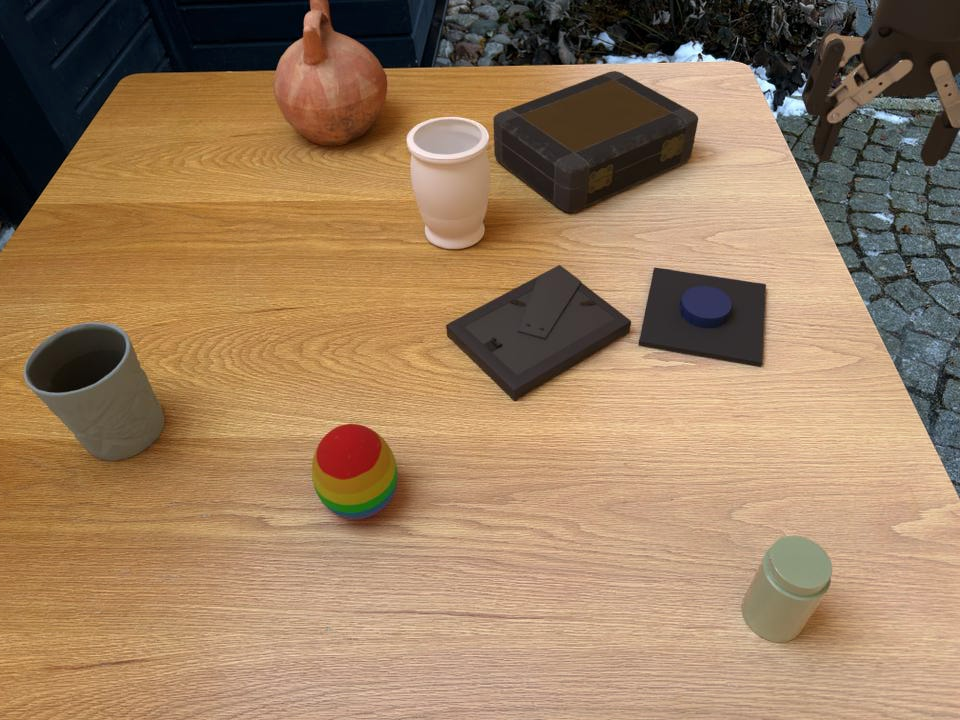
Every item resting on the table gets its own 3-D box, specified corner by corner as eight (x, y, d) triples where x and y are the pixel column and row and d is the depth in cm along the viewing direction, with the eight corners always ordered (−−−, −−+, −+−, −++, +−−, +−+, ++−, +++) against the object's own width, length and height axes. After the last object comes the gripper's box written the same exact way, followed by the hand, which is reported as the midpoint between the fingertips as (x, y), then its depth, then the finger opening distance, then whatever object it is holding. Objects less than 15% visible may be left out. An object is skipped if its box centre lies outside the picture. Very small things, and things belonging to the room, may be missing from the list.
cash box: (609, 109, 127) (613, 65, 122) (695, 160, 115) (704, 114, 110) (487, 157, 118) (486, 111, 113) (567, 218, 106) (570, 171, 101)
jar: (402, 239, 105) (389, 143, 94) (446, 202, 110) (438, 108, 99) (464, 265, 100) (457, 167, 89) (506, 225, 106) (505, 129, 95)
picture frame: (558, 276, 98) (446, 335, 91) (559, 263, 96) (445, 322, 89) (630, 332, 90) (514, 401, 83) (632, 318, 89) (514, 388, 82)
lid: (672, 317, 91) (674, 307, 89) (690, 289, 94) (692, 280, 93) (719, 334, 88) (721, 324, 87) (735, 305, 92) (738, 295, 90)
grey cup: (181, 440, 81) (140, 366, 73) (86, 483, 78) (31, 410, 69) (155, 383, 87) (115, 307, 79) (66, 420, 84) (14, 346, 75)
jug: (386, 156, 120) (368, 30, 105) (275, 159, 120) (241, 35, 106) (396, 100, 132) (381, -19, 118) (295, 103, 133) (268, -15, 118)
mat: (764, 288, 95) (766, 283, 94) (760, 367, 86) (762, 362, 85) (653, 271, 98) (654, 267, 97) (638, 345, 89) (639, 341, 88)
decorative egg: (323, 465, 78) (304, 404, 71) (401, 459, 79) (389, 397, 71) (317, 534, 73) (295, 475, 65) (401, 527, 73) (388, 468, 66)
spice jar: (802, 593, 67) (835, 539, 60) (804, 649, 63) (838, 599, 57) (742, 580, 68) (767, 526, 61) (740, 634, 64) (766, 583, 58)
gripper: (858, -27, 50) (794, 180, 62) (1088, -24, 49) (977, 188, 60) (838, -65, 55) (782, 133, 67) (1045, -63, 54) (950, 139, 66)
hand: (874, 159), depth 64 cm, fingers open, 8 cm apart
